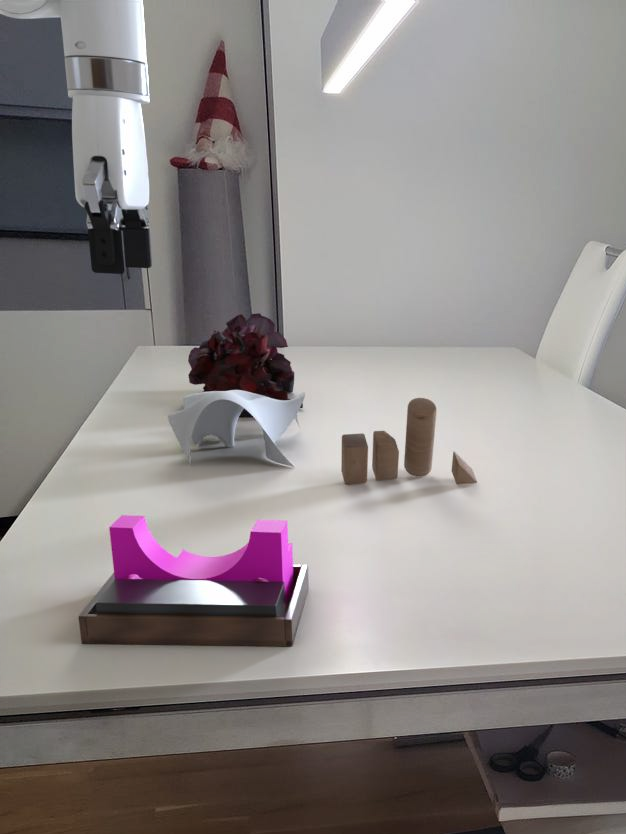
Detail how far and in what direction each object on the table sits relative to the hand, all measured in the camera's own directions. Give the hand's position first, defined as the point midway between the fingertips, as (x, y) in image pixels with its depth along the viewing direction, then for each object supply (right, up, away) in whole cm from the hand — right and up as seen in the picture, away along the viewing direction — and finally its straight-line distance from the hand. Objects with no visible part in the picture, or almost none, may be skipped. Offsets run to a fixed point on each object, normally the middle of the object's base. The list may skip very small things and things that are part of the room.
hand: (123, 270), depth 107 cm
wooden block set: (+27, -16, +36) cm, 47 cm away
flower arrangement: (-6, +5, +83) cm, 84 cm away
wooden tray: (+12, -36, -12) cm, 40 cm away
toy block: (+11, -34, -10) cm, 38 cm away
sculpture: (+1, -9, +50) cm, 50 cm away
